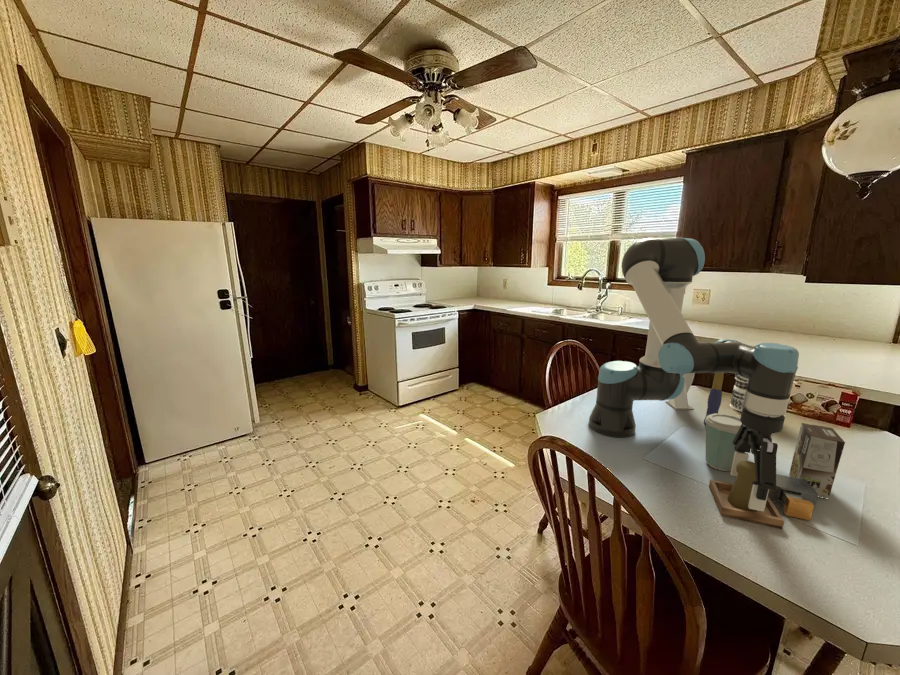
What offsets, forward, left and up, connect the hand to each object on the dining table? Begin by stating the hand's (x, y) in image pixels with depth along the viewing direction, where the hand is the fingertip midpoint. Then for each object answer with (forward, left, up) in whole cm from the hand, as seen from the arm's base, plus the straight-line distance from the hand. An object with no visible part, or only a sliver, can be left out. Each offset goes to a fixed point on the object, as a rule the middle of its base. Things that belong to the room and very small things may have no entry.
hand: (745, 491), depth 89 cm
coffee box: (+18, +16, -4) cm, 25 cm away
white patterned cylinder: (+18, +69, -4) cm, 72 cm away
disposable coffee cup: (0, +19, -4) cm, 20 cm away
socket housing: (+10, +8, -4) cm, 14 cm away
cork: (0, 0, -4) cm, 4 cm away
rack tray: (0, 0, -4) cm, 4 cm away
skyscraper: (-4, +61, -4) cm, 61 cm away
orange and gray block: (+11, +6, -4) cm, 12 cm away
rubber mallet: (+2, +45, -4) cm, 45 cm away
